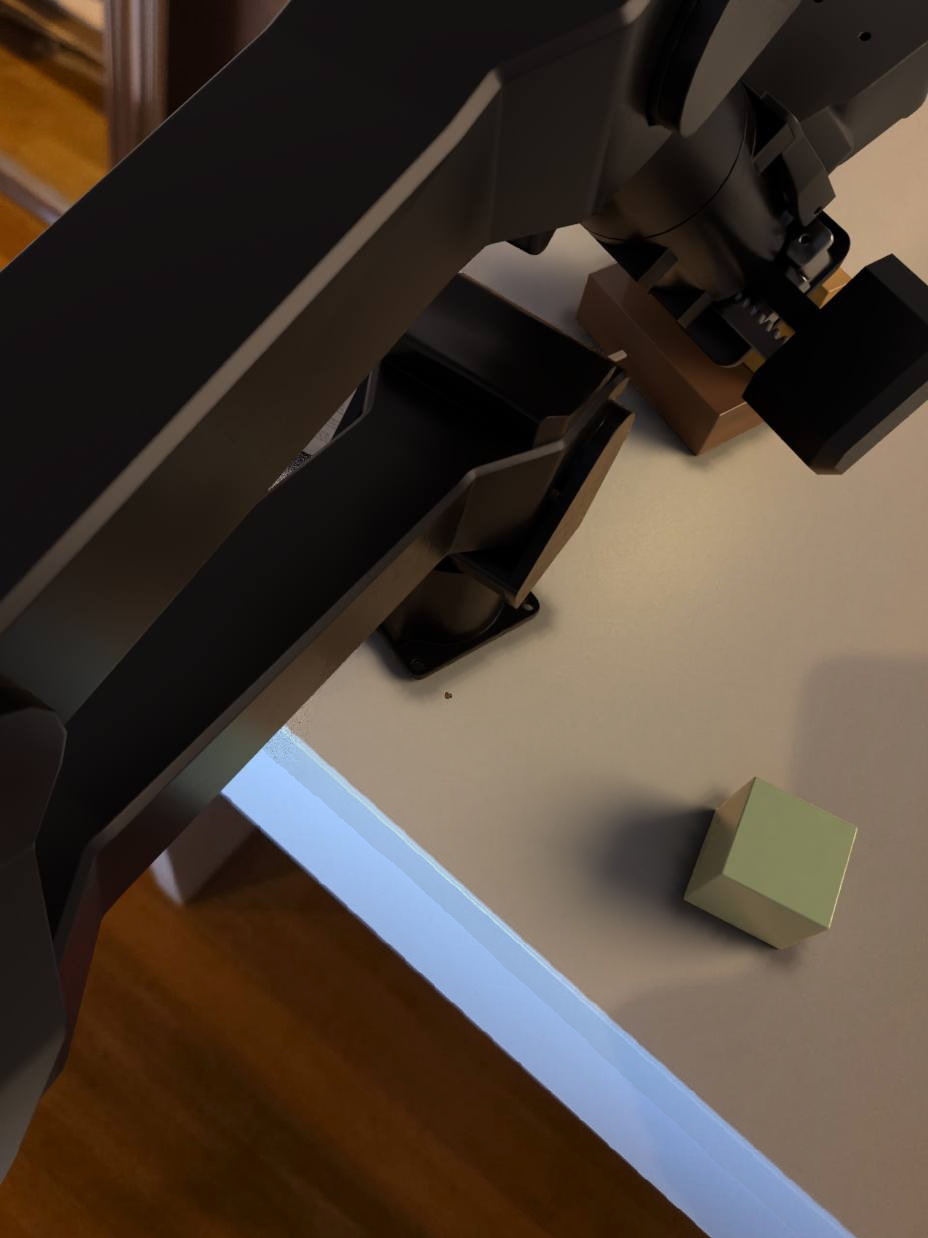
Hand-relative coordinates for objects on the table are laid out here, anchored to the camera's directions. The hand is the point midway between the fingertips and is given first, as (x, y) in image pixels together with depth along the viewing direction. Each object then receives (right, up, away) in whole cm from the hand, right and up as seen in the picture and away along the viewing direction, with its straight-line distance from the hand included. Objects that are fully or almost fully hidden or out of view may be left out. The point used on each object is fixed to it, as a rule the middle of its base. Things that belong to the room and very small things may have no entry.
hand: (763, 301), depth 42 cm
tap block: (-1, 0, +9) cm, 9 cm away
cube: (-2, -23, -4) cm, 24 cm away
